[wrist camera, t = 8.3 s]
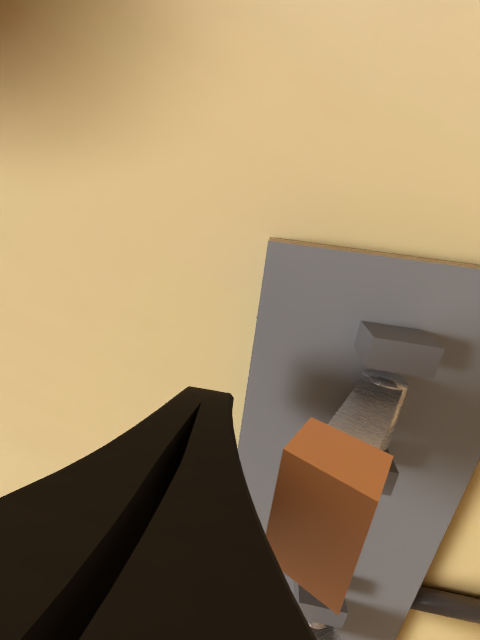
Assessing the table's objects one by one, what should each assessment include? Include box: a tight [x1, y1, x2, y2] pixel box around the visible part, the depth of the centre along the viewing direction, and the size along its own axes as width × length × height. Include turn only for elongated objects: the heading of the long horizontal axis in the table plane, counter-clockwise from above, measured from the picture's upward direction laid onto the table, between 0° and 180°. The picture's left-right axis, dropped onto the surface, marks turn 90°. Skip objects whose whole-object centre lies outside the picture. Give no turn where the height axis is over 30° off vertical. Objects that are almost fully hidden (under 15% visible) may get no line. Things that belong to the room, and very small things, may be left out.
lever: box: [266, 368, 409, 616], centre depth 9 cm, size 2×3×6 cm, turn 171°
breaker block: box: [238, 237, 480, 640], centre depth 13 cm, size 16×22×4 cm
